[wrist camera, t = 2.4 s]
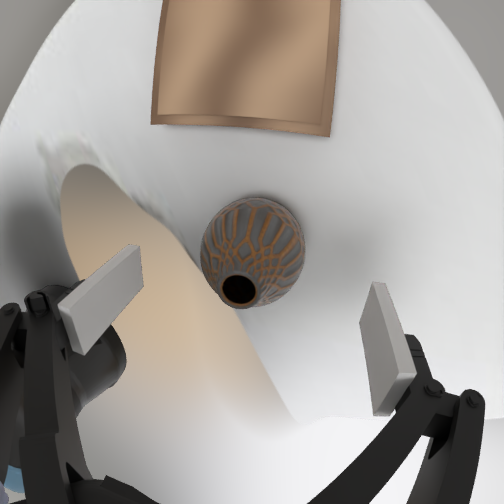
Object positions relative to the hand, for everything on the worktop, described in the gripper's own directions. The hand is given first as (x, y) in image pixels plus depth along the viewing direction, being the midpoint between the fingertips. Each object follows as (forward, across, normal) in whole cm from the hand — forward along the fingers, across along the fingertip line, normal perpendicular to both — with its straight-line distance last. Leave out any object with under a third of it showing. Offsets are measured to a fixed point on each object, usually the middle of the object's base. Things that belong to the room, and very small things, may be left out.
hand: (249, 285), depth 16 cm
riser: (+8, -3, +14) cm, 16 cm away
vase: (+8, -1, 0) cm, 8 cm away
